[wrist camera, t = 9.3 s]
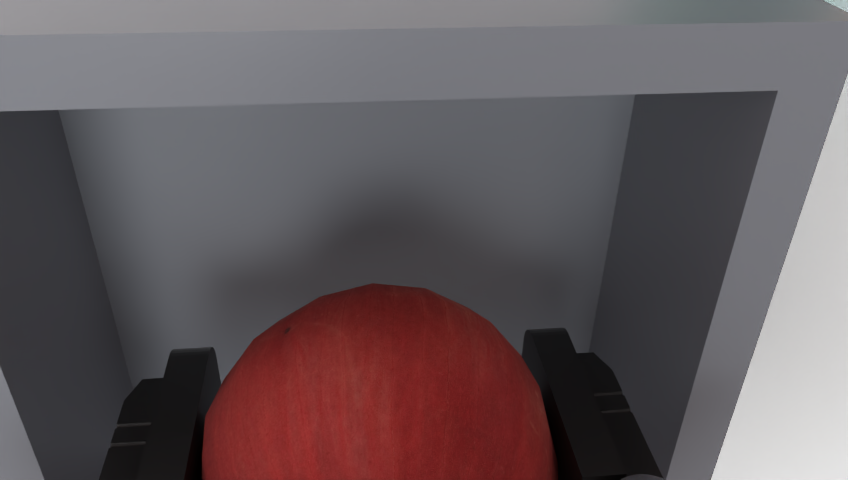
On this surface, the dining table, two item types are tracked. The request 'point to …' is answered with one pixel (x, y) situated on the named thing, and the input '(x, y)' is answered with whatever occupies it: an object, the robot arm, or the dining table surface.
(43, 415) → the bin
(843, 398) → the dining table surface
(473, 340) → the onion
